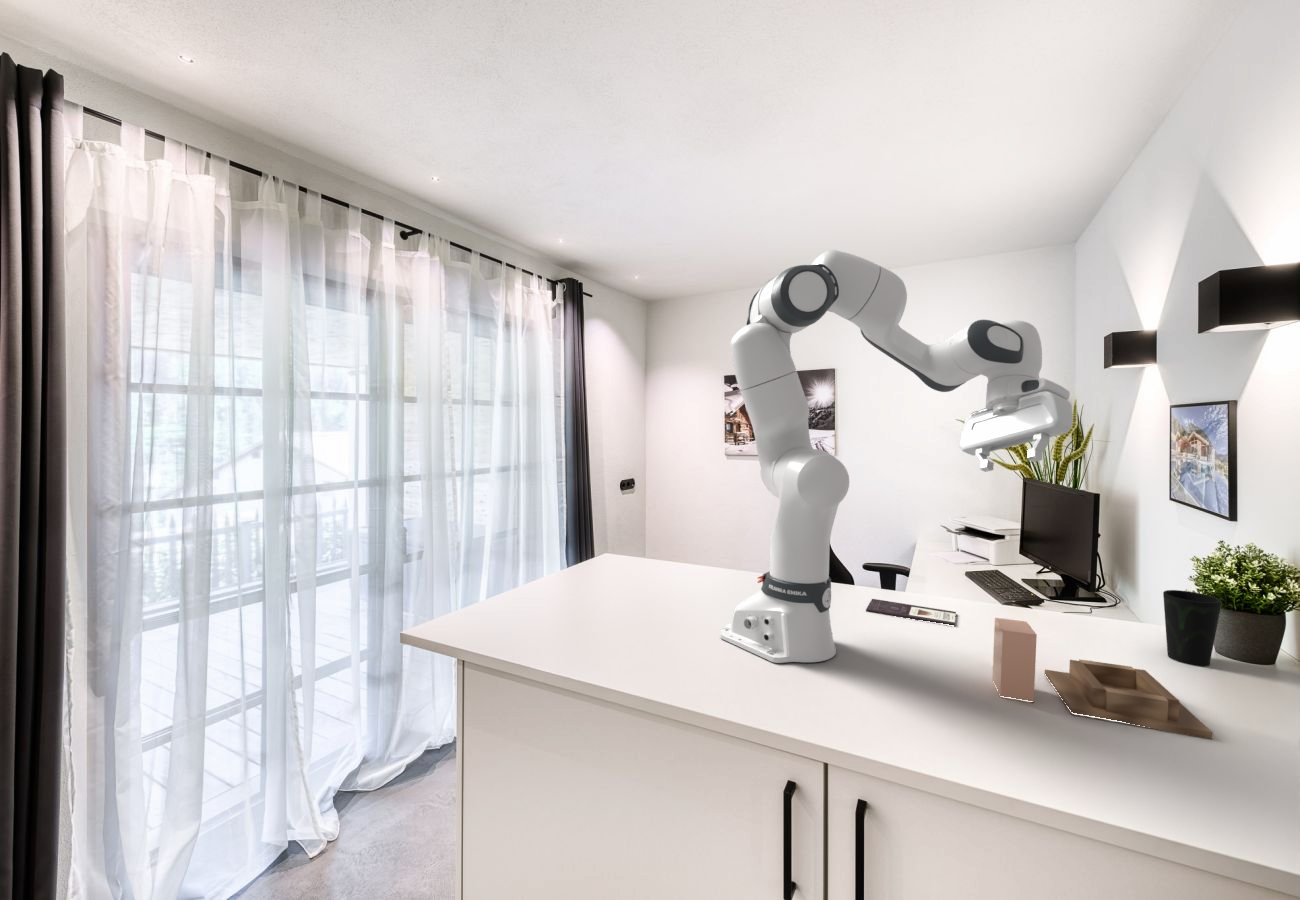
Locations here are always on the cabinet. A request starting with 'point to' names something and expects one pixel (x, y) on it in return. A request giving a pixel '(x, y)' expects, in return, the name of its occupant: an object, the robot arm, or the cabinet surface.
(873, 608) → the chocolate bar
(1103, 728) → the cabinet surface
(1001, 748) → the cabinet surface
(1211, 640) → the cup
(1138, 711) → the wooden tray with base
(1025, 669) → the peach rectangular block
